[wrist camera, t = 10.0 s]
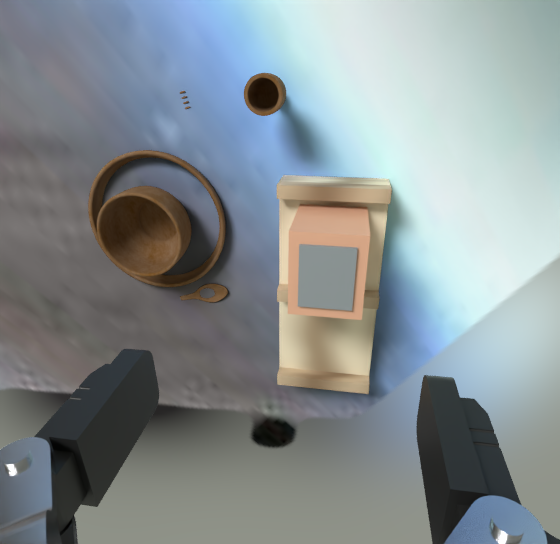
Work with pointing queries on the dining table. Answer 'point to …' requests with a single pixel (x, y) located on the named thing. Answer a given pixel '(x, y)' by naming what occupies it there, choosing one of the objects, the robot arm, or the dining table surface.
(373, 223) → the light wooden ridged board
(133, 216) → the place setting
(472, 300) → the dining table surface
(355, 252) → the frame block
